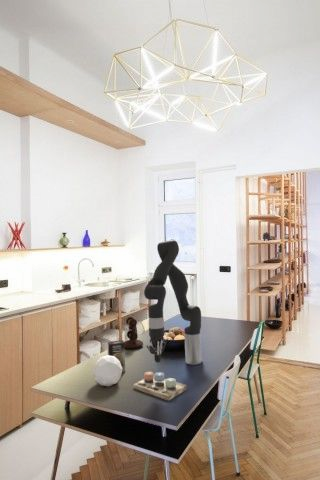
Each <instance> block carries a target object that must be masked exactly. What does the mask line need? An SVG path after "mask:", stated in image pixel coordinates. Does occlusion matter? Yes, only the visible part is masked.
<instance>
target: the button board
mask: <svg viewBox="0 0 320 480" xmlns="http://www.w3.org/2000/svg"><path fill="white" fill-rule="evenodd" d="M166 379H167V378H165V380H166ZM165 380H164V381H159V382H158V381H155V380H154V379H153V380H149V381H148V380H144V378H142V379H141V380H139V381H137V382H136V383H133V384H132V386H133V389H135V390H137V391H140V392H143V393H145V394H148V395H151V396H154V397H156V398H160V399H162V400H165V401H170V400H172V399H173V398H174V399H175V397H177V396H178V395H180V394H182V393H183V392H185V391H186V390H188V389H187V385H186V384H184V383H181V382H177V381H176V386H175V387H172V388H169V387H166V384H165Z"/></svg>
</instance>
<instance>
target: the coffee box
mask: <svg viewBox="0 0 320 480" xmlns="http://www.w3.org/2000/svg"><path fill="white" fill-rule="evenodd" d="M107 355H109V356H115V357H116V358H117V359H118V360H119V361H120V363H121V366H122V373H124V372H126V348H125V343H124V339H121V340H112V341H107Z"/></svg>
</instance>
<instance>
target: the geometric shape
mask: <svg viewBox="0 0 320 480" xmlns="http://www.w3.org/2000/svg"><path fill="white" fill-rule="evenodd" d="M122 373H123V372H122V366H121V363H120V361H119V360H118V359H117V358H116V357H115V356H109V355H108V354H106V355H103V356H101V357H99V358H98V359H97V361H96V362H95V364H94V367H93V371H92V374H93V377H94V378H95V381H96V382H97V383H98V384H99V386H103V387H104V386H105V387H111V386H113V385H115V384H117V383H118V381H119V380H120V379H121V378H122Z"/></svg>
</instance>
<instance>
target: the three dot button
mask: <svg viewBox="0 0 320 480" xmlns="http://www.w3.org/2000/svg"><path fill="white" fill-rule="evenodd" d="M165 379H166V378H165V373H164V372H155V373H154V380H155V381H158V382H159V381H164V380H165Z"/></svg>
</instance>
